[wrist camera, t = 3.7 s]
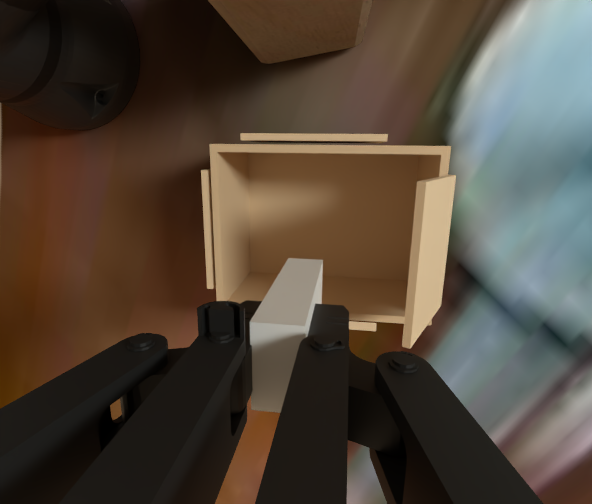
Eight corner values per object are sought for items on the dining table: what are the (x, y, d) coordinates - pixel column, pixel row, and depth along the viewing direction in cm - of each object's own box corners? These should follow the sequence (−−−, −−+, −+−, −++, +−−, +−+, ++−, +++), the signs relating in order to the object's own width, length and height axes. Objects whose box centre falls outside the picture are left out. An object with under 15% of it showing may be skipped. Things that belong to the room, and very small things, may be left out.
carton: (239, 276, 43) (208, 312, 33) (236, 137, 39) (199, 133, 30) (411, 285, 41) (430, 327, 31) (425, 138, 37) (452, 134, 27)
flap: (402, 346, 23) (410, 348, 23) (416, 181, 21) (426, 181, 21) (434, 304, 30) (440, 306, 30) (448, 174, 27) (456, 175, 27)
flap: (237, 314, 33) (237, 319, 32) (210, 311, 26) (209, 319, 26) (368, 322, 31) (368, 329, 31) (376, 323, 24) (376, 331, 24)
